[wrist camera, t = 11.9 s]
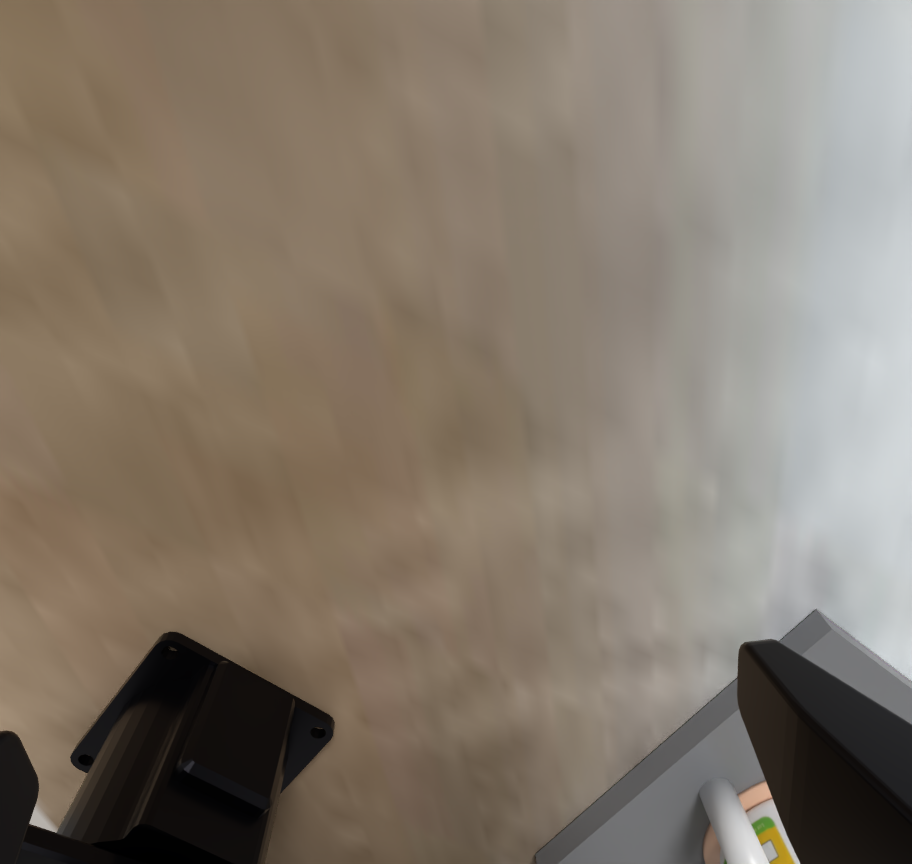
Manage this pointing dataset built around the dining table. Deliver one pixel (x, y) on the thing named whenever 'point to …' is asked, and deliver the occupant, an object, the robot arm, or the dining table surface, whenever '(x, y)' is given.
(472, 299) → the dining table surface
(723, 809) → the pin tray
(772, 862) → the supplement bottle
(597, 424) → the dining table surface
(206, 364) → the dining table surface
